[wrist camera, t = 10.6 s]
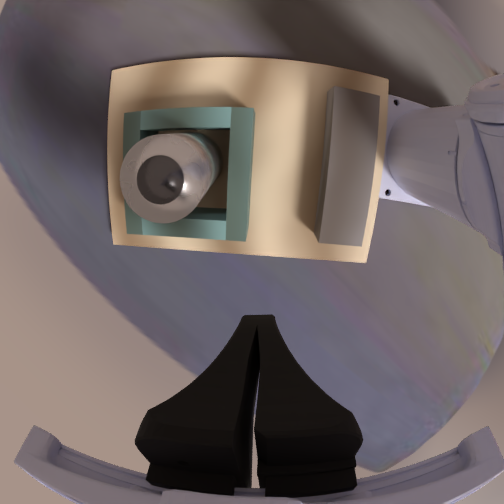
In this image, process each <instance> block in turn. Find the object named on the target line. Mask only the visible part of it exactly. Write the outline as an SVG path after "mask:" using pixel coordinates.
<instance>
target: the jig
mask: <svg viewBox="0 0 504 504" xmlns="http://www.w3.org/2000/svg"><path fill="white" fill-rule="evenodd" d="M388 87H389V79H386V78H382V77H378V76H375V75H371V74H367V73H363V72H358V71H354V70H349V69H345V68H340V67H334V66H329V65H323V64H316V63H309V62H302V61H293V60H283V59H270V58H250V57H214V58H194V59H181V60H171V61H163V62H155V63H148V64H142V65H136V66H131V67H126V68H121V69H116V70H112V75H111V85H110V96H109V110H108V136H107V164H108V190H109V206H110V217H111V228H112V237H113V244H115V245H128V246H141V247H154V248H168V249H181V250H194V251H208V252H221V253H235V254H249V255H263V256H276V257H290V258H304V259H318V260H332V261H347V262H361V263H366V261H367V256H368V252H369V247H370V242H371V237H372V233H373V227H374V222H375V217H376V211H377V205H378V199H379V192H380V186H381V178H382V171H383V162H384V153H385V143H386V130H387V115H388ZM189 132H198V133H203V134H205V135H207V136H209V137H211V138H212V139H213V140H214V141H215V142H216V143H217V144H218V146H219V147H220V149H221V152H222V156H223V165H222V169H221V172H220V174H219V176H218V177H217V179H216V180H215V181H214V183H213V184H212V186H211V187H210V188H209V190H208V191H207V192H206V194H205V195H204V196H203V198H202V199H201V200H200V202H199V203H198V205H197V206H196V207H195V209H194V210H193V211H192V212H191V213H190V214H188V215H187V216H186V217H184V218H182V219H180V220H178V221H175V222H171V223H155V222H151V221H148V220H146V219H144V218H142V217H140V216H139V215H137V214H136V213H135V212H134V211H133V210H132V209H131V208H130V207H129V205H128V204H127V202H126V201H125V199H124V197H123V194H122V191H121V187H120V170H121V166H122V163H123V160H124V158H125V156H126V154H127V153H128V151H129V150H130V149H131V148H132V147H133V146H134V145H135V144H136V143H137V142H139V141H140V140H142V139H144V138H146V137H148V136H152V135H158V134H171V133H189Z"/></svg>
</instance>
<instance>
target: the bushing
mask: <svg viewBox="0 0 504 504" xmlns="http://www.w3.org/2000/svg"><path fill="white" fill-rule="evenodd" d="M222 165H223V156H222V152H221V149H220V147H219V146H218V144H217V143H216V142H215V141H214V140H213V139H212V138H211V137H209V136H207V135H205V134H203V133H198V132H189V133H171V134H158V135H152V136H148V137H146V138H144V139H142V140H140V141H139V142H137V143H136V144H135V145H134V146H133V147H132V148H131V149H130V150H129V151H128V153H127V154H126V156H125V158H124V160H123V163H122V166H121V170H120V187H121V191H122V194H123V197H124V199H125V201H126V202H127V204H128V205H129V207H130V208H131V209H132V210H133V211H134V212H135V213H136V214H137V215H139V216H140V217H142V218H144V219H146V220H148V221H151V222H155V223H171V222H175V221H178V220H180V219H182V218H184V217H186V216H187V215H188V214H190V213H191V212H192V211H193V210H194V209H195V207H196V206H197V205H198V203H199V202H200V200H201V199H202V198H203V196H204V195H205V194H206V192H207V191H208V190H209V188H210V187H211V186H212V184H213V183H214V181H215V180H216V179H217V177H218V176H219V174H220V172H221V169H222Z"/></svg>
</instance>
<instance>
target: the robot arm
mask: <svg viewBox="0 0 504 504" xmlns="http://www.w3.org/2000/svg"><path fill="white" fill-rule="evenodd" d="M394 100H396V101H397V106H396V105H395V104H394ZM387 189H388V190H389V193H388V194H387V195H385V191H386V190H387ZM379 198H383V199H390V200H396V201H402V202H408V203H413V204H419V205H424V206H429V207H433V208H435V209H437V210H439V211H441V212H443V213H445V214H447V215H449V216H451V217H453V218H455V219H457V220H458V221H460V222H462V223H464V224H466V225H467V226H469V227H471V228H473V229H474V230H476V231H478V232H480V233H481V234H483V235H484V236H485V237H486V239H487V241H488V244H489V247H490V248H491V249H493V250H494V251H496V252H497V253H499V254H500V255H501V256H503V272H504V73H503V74H499V75H496V76H493V77H490V78H487V79H484V80H482V81H480V82H478V83H476V84H474V85H473V86H472V87H471V88H470V91H469V94H468V97H467V98H466V100H465V105H455V106H444V107H435V108H430V107H427V106H425V105H422V104H419V103H416V102H413V101H410V100H407V99H404V98H400V97H397V96H394V95H388V115H387V130H386V143H385V153H384V162H383V171H382V178H381V186H380V192H379ZM259 372H260V375H259ZM258 379H259V389H258V399H257V409H256V418H255V427H254V432H255V440H256V448H257V456H258V465H257V466H258V467H257V476H258V479H259V486H260V488H251V485H252V447H253V418H254V407H255V400H256V393H257V386H258ZM362 442H363V438H362V433H361V430H360V428H359V425H358V423H357V421H356V419H355V417H354V415H353V414H352V412H350V411H349V410H347V409H346V408H344V407H343V406H341V405H340V404H339V403H337V402H336V401H335V400H333V399H332V398H331V397H330V396H329V395H327V394H326V393H325V392H324V391H323V390H322V389H321V388H320V387H319V386H318V385H317V384H316V383H315V382H314V381H313V380H312V379H311V378H310V377H309V376H308V375H307V374H306V373H305V371H304V370H303V369H302V368H301V366H300V365H299V364H298V363H297V361H296V360H295V358H294V357H293V355H292V354H291V352H290V351H289V349H288V347H287V345H286V344H285V342H284V340H283V338H282V336H281V334H280V332H279V329H278V327H277V324H276V321H275V316H273V315H244V316H243V317H242V319H241V321H240V323H239V325H238V327H237V329H236V330H235V332H234V334H233V335H232V337H231V338H230V340H229V341H228V343H227V344H226V346H225V347H224V349H223V350H222V351H221V352H220V354H219V355H218V356H217V358H216V359H215V360H214V361H213V362H212V363H211V364H210V366H209V367H208V368H207V369H206V370H205V371H204V372H203V373H202V374H201V375H199V376H198V377H197V378H196V379H195V380H194V381H193V382H192V383H190V384H189V385H188V386H187V387H185V388H184V389H183V390H181V391H180V392H178V393H177V394H176V395H174V396H173V397H171V398H170V399H168V400H166V401H165V402H163V403H161V404H159V405H157V406H156V407H153V408H151V409H149V410H148V411H147V413H146V415H145V417H144V418H143V421H142V423H141V425H140V428H139V430H138V433H137V436H136V438H135V445H136V446H137V448H138V450H139V451H140V452H141V453H142V454H143V455H144V457H145V458H146V459H147V460H148V461H149V462H150V466H149V469H148V473H147V474H144V473H140V472H136V471H133V470H129V469H126V468H123V467H119V466H116V465H113V464H110V463H107V462H104V461H101V460H99V459H96V458H93V457H90V456H88V455H86V454H83V453H81V452H78V451H76V450H74V449H71V448H69V447H67V446H64V445H62V444H61V442H59V440H58V439H57V438H56V437H55V436H53V435H52V434H51V433H49V432H47V431H45V430H43V429H41V428H39V427H37V426H35V425H34V426H33V427H32V429H31V431H30V432H29V434H28V436H27V438H26V440H25V441H24V443H23V445H22V447H21V449H20V451H19V452H18V454H17V456H16V458H15V460H14V463H15V464H17V465H18V466H19V467H20V468H21V469H23V470H24V471H25V472H27V473H28V474H29V475H30V476H32V477H33V478H35V479H36V480H37V481H39V482H40V483H42V484H43V485H44V486H46V487H47V488H49V489H51V490H52V491H54V492H56V493H58V494H59V495H61V496H63V497H65V498H67V499H68V500H70V501H72V502H74V503H76V504H454V503H456V502H458V501H460V500H461V499H463V498H465V497H467V496H469V495H470V494H472V493H474V492H475V491H477V490H478V489H480V488H481V487H483V486H484V485H486V484H487V483H488V482H490V481H491V480H493V479H494V478H495V477H497V476H498V475H499V474H501V473H502V472H503V471H504V459H503V456H502V454H501V452H500V449H499V447H498V445H497V443H496V440H495V438H494V436H493V434H492V432H491V430H490V428H489V426H486V427H485V428H482V429H481V430H479V431H477V432H475V433H473V434H471V435H469V436H468V437H466V438H465V439H464V440H463V441H462V442H461V443H460V444H459V445H458V447H456V448H454V449H452V450H450V451H447V452H445V453H442V454H440V455H437V456H435V457H432V458H430V459H427V460H424V461H422V462H419V463H416V464H413V465H410V466H407V467H403V468H400V469H397V470H393V471H390V472H386V473H382V474H378V475H374V476H370V477H365V478H360V479H356V474H355V467H356V460H355V455H356V453H357V452H358V450H359V448H360V447H361V445H362Z"/></svg>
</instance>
